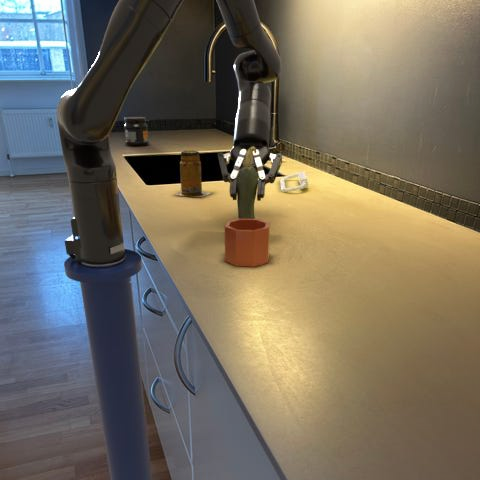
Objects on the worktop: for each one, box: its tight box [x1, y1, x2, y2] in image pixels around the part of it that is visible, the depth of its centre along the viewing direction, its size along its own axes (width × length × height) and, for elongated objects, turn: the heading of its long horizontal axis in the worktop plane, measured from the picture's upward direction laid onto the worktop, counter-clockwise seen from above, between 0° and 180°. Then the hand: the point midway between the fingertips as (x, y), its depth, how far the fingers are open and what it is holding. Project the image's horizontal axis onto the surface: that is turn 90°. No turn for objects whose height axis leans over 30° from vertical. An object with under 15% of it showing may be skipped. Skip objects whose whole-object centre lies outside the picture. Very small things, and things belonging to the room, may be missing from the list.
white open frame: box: [280, 171, 309, 193], centre depth 159 cm, size 20×8×4 cm, turn 177°
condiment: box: [175, 150, 213, 198], centre depth 148 cm, size 7×8×12 cm
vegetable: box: [236, 146, 259, 219], centre depth 106 cm, size 4×4×20 cm
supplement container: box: [123, 116, 150, 148], centre depth 235 cm, size 10×10×12 cm
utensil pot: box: [224, 218, 271, 268], centre depth 100 cm, size 8×8×7 cm
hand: (246, 198), depth 104 cm, fingers closed on vegetable, 4 cm apart
